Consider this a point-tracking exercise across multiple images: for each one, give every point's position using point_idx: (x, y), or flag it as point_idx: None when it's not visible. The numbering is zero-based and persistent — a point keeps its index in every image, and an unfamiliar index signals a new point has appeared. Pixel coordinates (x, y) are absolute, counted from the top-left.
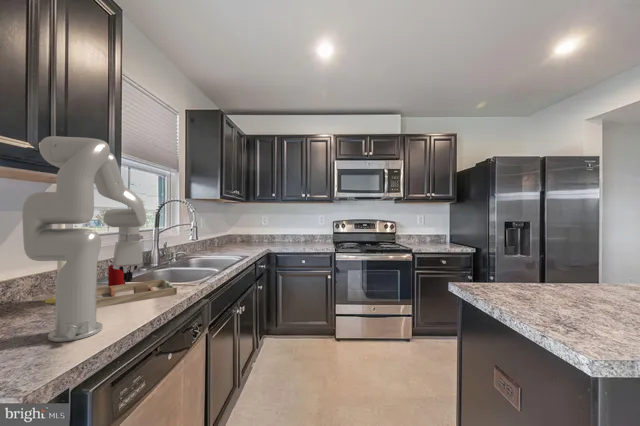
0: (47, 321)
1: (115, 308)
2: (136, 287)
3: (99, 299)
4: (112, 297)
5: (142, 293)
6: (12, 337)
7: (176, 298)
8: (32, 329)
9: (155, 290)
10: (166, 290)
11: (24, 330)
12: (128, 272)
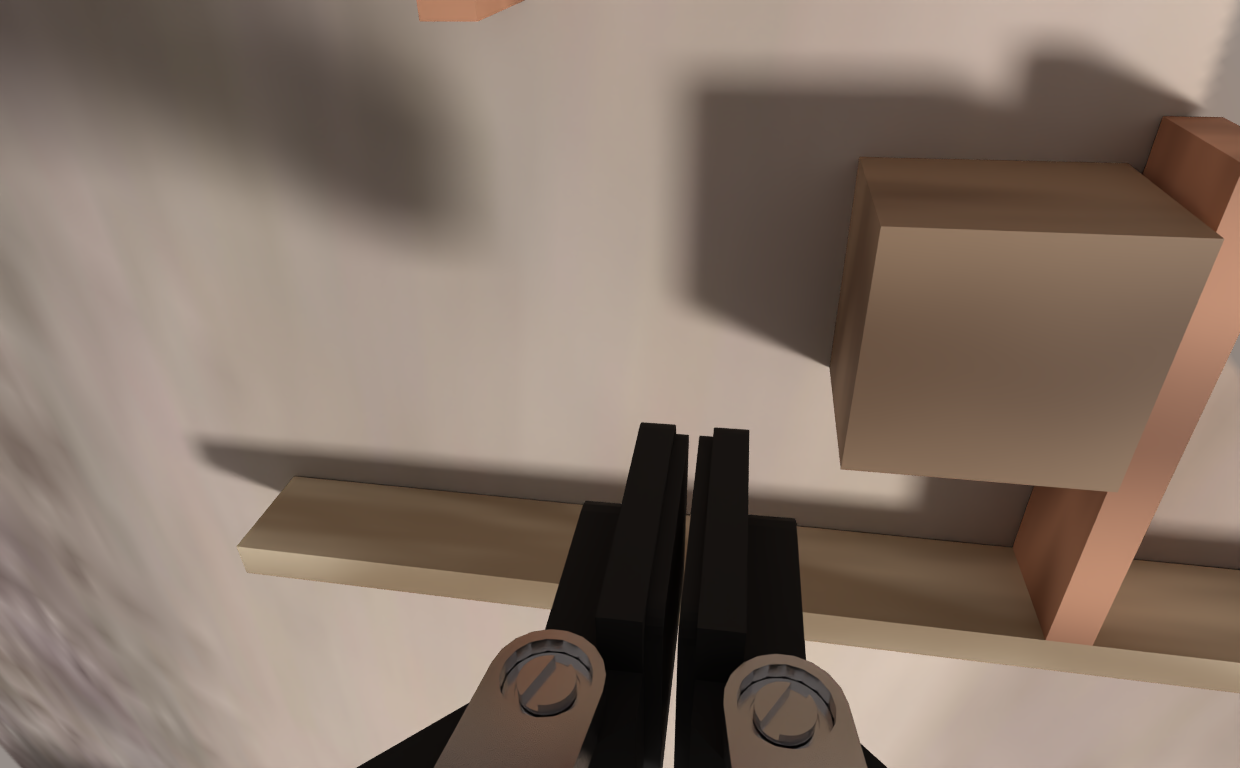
0: (61, 613)
1: None
2: (886, 389)
3: (324, 580)
4: (467, 598)
5: (866, 637)
6: (22, 745)
7: (1221, 754)
8: (55, 699)
9: (1096, 653)
10: None
11: (14, 687)
12: (685, 690)
